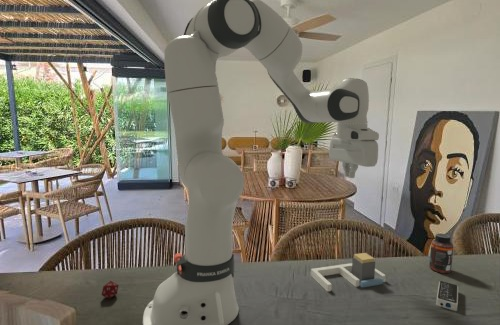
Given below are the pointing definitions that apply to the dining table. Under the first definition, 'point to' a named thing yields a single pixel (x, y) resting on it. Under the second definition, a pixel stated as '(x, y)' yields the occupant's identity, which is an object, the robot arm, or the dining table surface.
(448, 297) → the multiport hub
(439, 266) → the supplement bottle
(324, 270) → the white e-shaped frame
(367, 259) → the grey tan-topped block
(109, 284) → the dice
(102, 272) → the dining table surface
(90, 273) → the dining table surface
